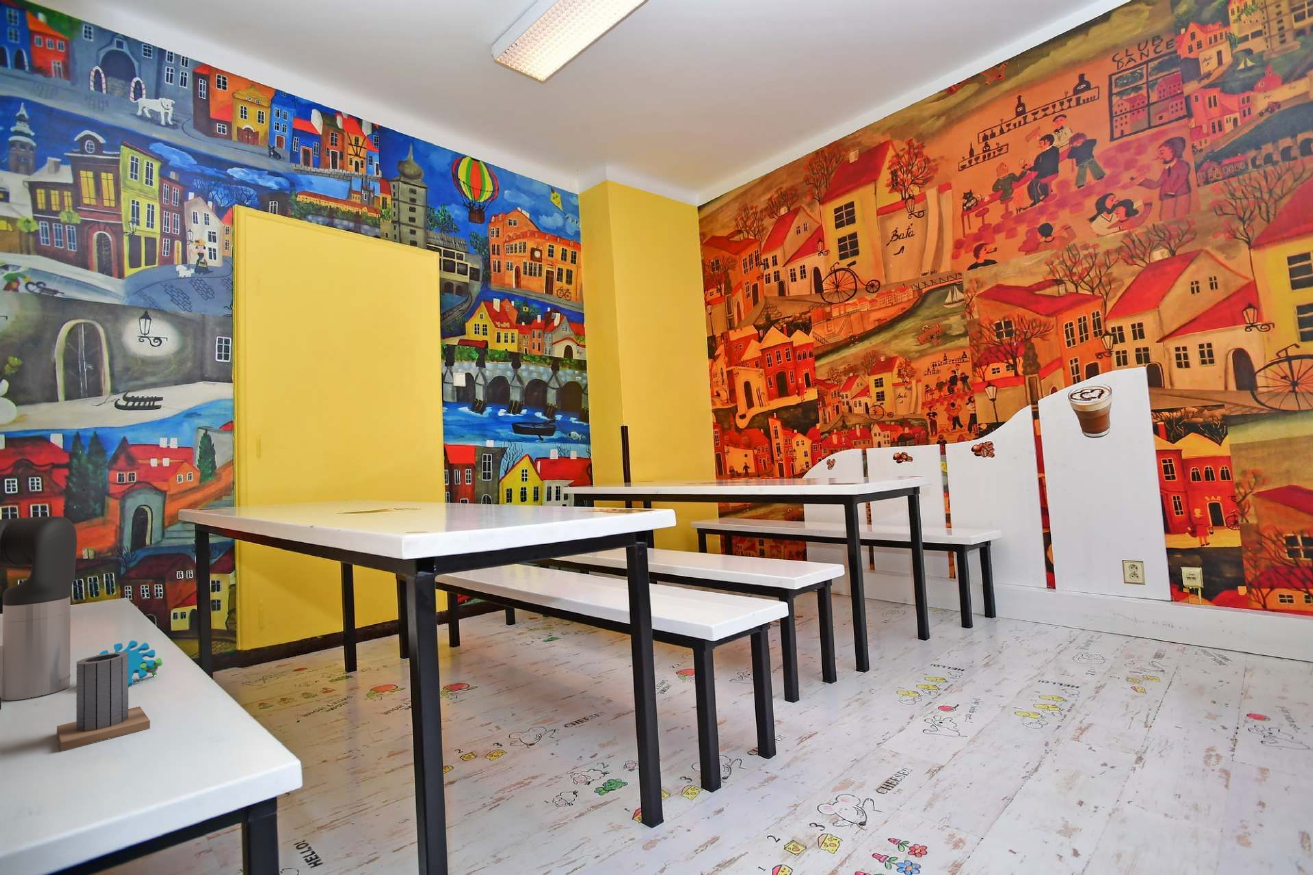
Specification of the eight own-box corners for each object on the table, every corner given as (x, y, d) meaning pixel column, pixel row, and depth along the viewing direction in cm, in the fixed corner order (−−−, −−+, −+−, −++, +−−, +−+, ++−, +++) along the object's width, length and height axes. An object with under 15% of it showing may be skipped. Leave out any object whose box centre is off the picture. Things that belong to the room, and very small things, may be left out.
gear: (77, 686, 116) (102, 638, 123) (85, 702, 119) (109, 655, 127) (149, 685, 119) (169, 638, 127) (154, 700, 123) (174, 654, 130)
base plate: (56, 734, 97) (56, 726, 97) (139, 713, 104) (139, 706, 104) (61, 751, 90) (61, 742, 90) (149, 728, 97) (149, 720, 97)
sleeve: (66, 733, 93) (66, 665, 94) (92, 719, 99) (92, 655, 100) (113, 728, 95) (113, 661, 95) (136, 713, 101) (136, 650, 101)
